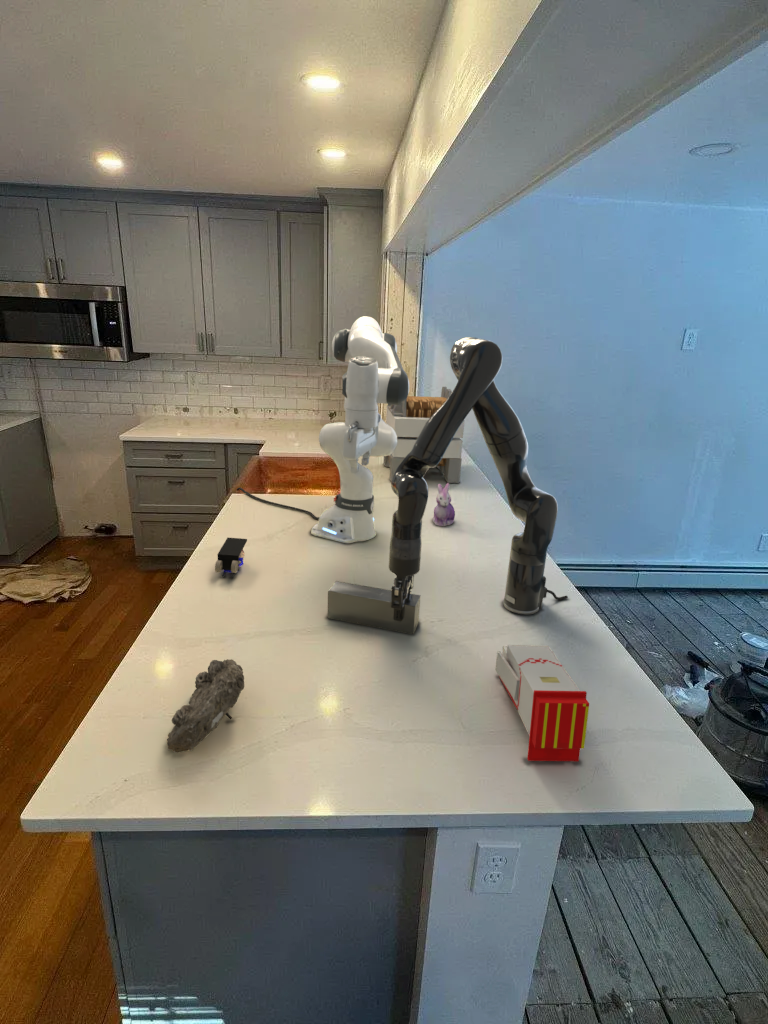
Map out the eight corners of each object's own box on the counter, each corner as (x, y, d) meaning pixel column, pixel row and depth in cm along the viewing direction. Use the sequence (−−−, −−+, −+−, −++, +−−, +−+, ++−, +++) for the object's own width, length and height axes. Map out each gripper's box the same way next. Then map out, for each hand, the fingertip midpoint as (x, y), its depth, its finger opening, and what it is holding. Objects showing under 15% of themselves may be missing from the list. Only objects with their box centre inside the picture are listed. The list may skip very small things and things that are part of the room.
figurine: (440, 528, 206) (443, 489, 201) (425, 519, 214) (428, 481, 209) (461, 525, 210) (465, 486, 205) (446, 516, 219) (449, 478, 214)
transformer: (382, 463, 289) (386, 382, 275) (445, 464, 293) (451, 384, 279) (390, 482, 257) (394, 392, 243) (460, 483, 261) (468, 394, 247)
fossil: (192, 660, 117) (244, 628, 112) (224, 691, 120) (276, 661, 115) (142, 746, 98) (202, 712, 93) (182, 779, 101) (242, 748, 96)
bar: (327, 618, 144) (327, 590, 141) (335, 607, 149) (336, 580, 147) (413, 634, 139) (415, 606, 136) (418, 622, 144) (420, 595, 141)
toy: (545, 627, 125) (599, 699, 96) (539, 683, 128) (590, 769, 99) (490, 626, 125) (528, 698, 96) (486, 682, 128) (522, 768, 98)
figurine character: (238, 584, 162) (249, 557, 175) (236, 562, 158) (247, 536, 172) (215, 584, 161) (227, 556, 175) (212, 561, 158) (225, 535, 171)
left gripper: (361, 426, 143) (359, 479, 147) (382, 414, 162) (380, 461, 166) (337, 424, 144) (336, 476, 149) (361, 412, 163) (360, 459, 168)
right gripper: (413, 566, 128) (409, 631, 134) (426, 543, 141) (422, 603, 147) (381, 561, 130) (378, 625, 135) (397, 539, 143) (394, 598, 148)
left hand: (360, 468), depth 158 cm, fingers open, 8 cm apart
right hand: (401, 613), depth 141 cm, fingers open, 6 cm apart
